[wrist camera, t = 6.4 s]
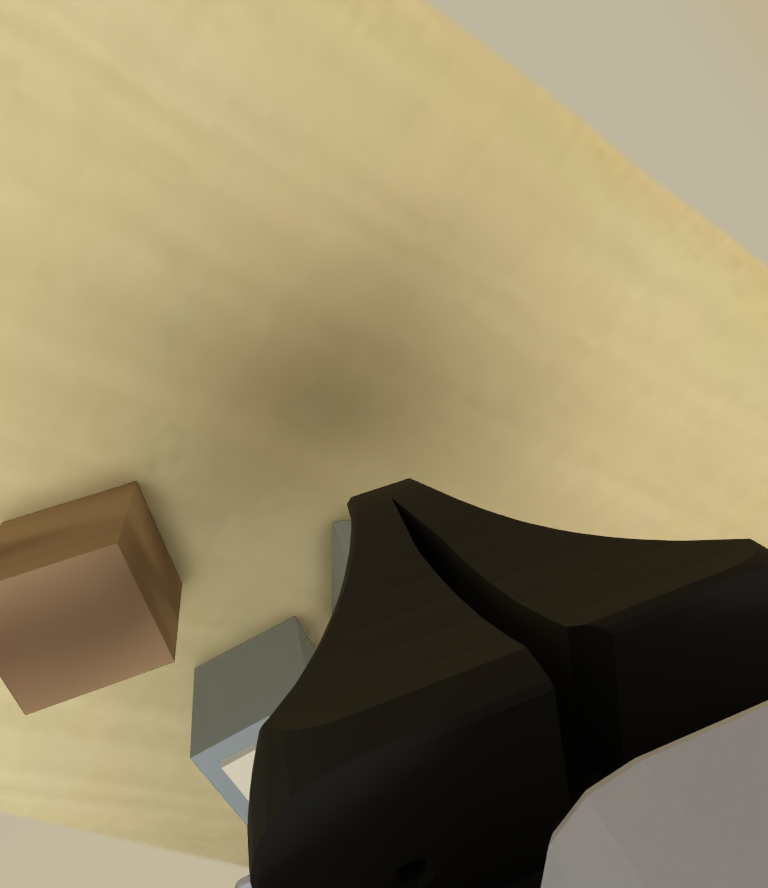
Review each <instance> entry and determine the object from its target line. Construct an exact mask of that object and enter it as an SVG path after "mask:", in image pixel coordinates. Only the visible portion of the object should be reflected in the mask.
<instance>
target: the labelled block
mask: <svg viewBox="0 0 768 888" xmlns="http://www.w3.org/2000/svg"><path fill="white" fill-rule="evenodd" d="M315 650H316V649H315V648H314V646H313V644H312V643H311V641H310V639H309V638H308V636H307V635H306V633H305V631H304V630H303V628H302V627H301V625H300V623H299V622H298V620H297V618H296V617H295V616H294V617H292V618H290V619H288V620H286V621H284V622H282V623H280V624H279V625H277V626H275V627H273V628H271V629H269V630H267V631H265V632H263V633H261V634H259V635H258V636H256V637H254V638H252V639H250V640H248V641H246V642H244V643H242V644H240V645H238V646H237V647H235V648H233V649H231V650H229V651H227V652H225V653H223V654H221V655H219V656H217V657H215V658H214V659H212V660H210V661H208V662H206V663H204V664H202V665H200V666H198V667H196V668H195V669H194V690H193V710H192V731H191V751H190V759H191V760H192V761H193V762H194V763H195V765H196V766H197V767H198V768H199V769H200V770H201V772H202V773H203V774H204V775H205V776H206V778H207V779H208V780H209V781H210V782H211V783H212V785H213V786H214V787H215V788H216V789H217V791H218V792H219V793H220V794H221V795H222V797H223V798H224V799H225V800H226V801H227V802H228V804H229V805H230V806H231V807H232V808H233V810H234V811H235V812H236V813H237V814H238V815H239V817H240V818H241V819H242V820H243V821H244V823H245V824H246V825H247V826H248V807H249V794H250V784H251V776H252V769H253V762H254V756H255V750H256V745H257V739H258V734H259V730H260V728H261V727H262V725H263V724H264V723H265V722H266V720H267V719H268V718H269V717H270V716H271V714H272V713H273V712H274V711H275V709H276V708H277V707H278V706H279V704H280V703H281V702H282V701H283V699H284V698H285V697H286V695H287V694H288V693H289V692H290V690H291V689H292V688H293V687H294V685H295V684H296V682H297V681H298V679H299V677H300V676H301V674H302V672H303V671H304V669H305V667H306V666H307V664H308V662H309V661H310V659H311V657H312V655H313V654H314V652H315Z"/></svg>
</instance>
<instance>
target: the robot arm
mask: <svg viewBox="0 0 768 888" xmlns="http://www.w3.org/2000/svg"><path fill="white" fill-rule="evenodd" d="M347 506H348V509H349V513H350V516H351V538H350V549H349V556H348V561H347V566H346V571H345V576H344V580H343V584H342V587H341V591H340V594H339V597H338V600H337V603H336V606H335V609H334V611H333V614H332V616H331V618H330V621H329V623H328V625H327V628H326V630H325V632H324V635H323V637H322V639H321V641H320V643H319V645H318V647H317V649H316V650H315V652H314V654H313V655H312V657H311V659H310V661H309V662H308V664H307V666H306V667H305V669H304V671H303V672H302V674H301V676H300V677H299V679H298V681H297V682H296V684H295V685H294V687H293V688H292V689H291V690H290V692H289V693H288V694H287V695H286V697H285V698H284V699H283V701H282V702H281V703H280V704H279V706H278V707H277V708H276V709H275V711H274V712H273V713H272V714H271V716H270V717H269V718H268V719H267V720H266V722H265V723H264V724H263V725H262V727H261V728H260V730H259V734H258V739H257V745H256V750H255V756H254V762H253V769H252V776H251V784H250V794H249V807H248V826H247V829H248V851H249V870H250V875H248V876H246V877H244V878H242V879H240V880H239V881H238V882H237V883H236V886H235V888H768V549H767V548H765V547H764V546H762V545H760V544H758V543H757V542H755V541H753V540H751V539H729V540H695V541H666V540H641V539H626V538H613V537H605V536H597V535H589V534H581V533H574V532H569V531H563V530H557V529H553V528H548V527H544V526H539V525H535V524H530V523H526V522H522V521H519V520H515V519H512V518H509V517H505V516H502V515H499V514H496V513H493V512H490V511H487V510H484V509H481V508H479V507H476V506H473V505H471V504H468V503H466V502H463V501H461V500H458V499H456V498H453V497H451V496H449V495H446V494H444V493H442V492H440V491H437V490H435V489H433V488H431V487H428V486H426V485H424V484H422V483H419V482H417V481H415V480H412V479H410V478H409V479H406V480H403V481H400V482H396V483H393V484H390V485H387V486H384V487H381V488H378V489H375V490H372V491H369V492H366V493H363V494H360V495H357V496H353V497H351V498H350V500H349V502H348V503H347Z"/></svg>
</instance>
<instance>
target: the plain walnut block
mask: <svg viewBox="0 0 768 888" xmlns="http://www.w3.org/2000/svg"><path fill="white" fill-rule="evenodd" d="M181 589H182V582H181V580H180V578H179V576H178V573H177V571H176V569H175V567H174V564H173V562H172V560H171V558H170V555H169V553H168V551H167V549H166V546H165V544H164V542H163V540H162V537H161V535H160V533H159V531H158V528H157V526H156V524H155V522H154V519H153V517H152V515H151V512H150V510H149V508H148V506H147V503H146V501H145V499H144V497H143V494H142V492H141V490H140V488H139V485H138V483H137V481H135V482H132V483H129V484H126V485H122V486H119V487H116V488H113V489H109V490H106V491H103V492H100V493H96V494H93V495H90V496H87V497H83V498H80V499H77V500H73V501H70V502H67V503H64V504H60V505H57V506H54V507H51V508H47V509H44V510H41V511H38V512H34V513H31V514H28V515H25V516H21V517H18V518H15V519H12V520H8V521H5V522H3V523H2V524H1V525H0V677H1V679H2V680H3V682H4V683H5V685H6V686H7V688H8V689H9V691H10V692H11V694H12V696H13V697H14V699H15V700H16V702H17V703H18V705H19V706H20V708H21V709H22V711H23V713H24V714H25V715H27V714H30V713H33V712H36V711H39V710H41V709H44V708H47V707H50V706H53V705H55V704H58V703H61V702H64V701H67V700H69V699H72V698H75V697H78V696H80V695H83V694H86V693H89V692H92V691H94V690H97V689H100V688H103V687H106V686H108V685H111V684H114V683H117V682H120V681H122V680H125V679H128V678H131V677H134V676H136V675H139V674H142V673H145V672H148V671H150V670H153V669H156V668H159V667H161V666H164V665H167V664H170V663H173V662H174V661H175V651H176V640H177V630H178V620H179V609H180V599H181Z"/></svg>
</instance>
